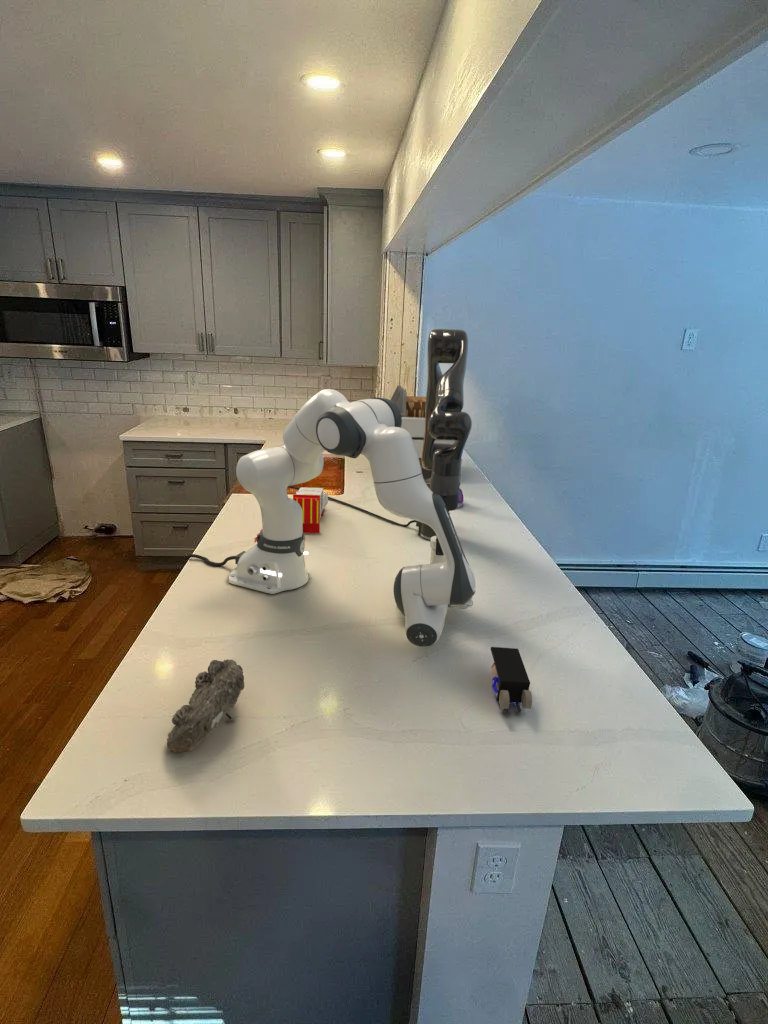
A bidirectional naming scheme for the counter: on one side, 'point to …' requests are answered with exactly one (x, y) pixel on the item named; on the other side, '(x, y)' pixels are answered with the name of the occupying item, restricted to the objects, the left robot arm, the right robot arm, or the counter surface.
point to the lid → (433, 542)
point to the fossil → (206, 705)
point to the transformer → (414, 418)
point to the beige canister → (436, 557)
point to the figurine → (460, 498)
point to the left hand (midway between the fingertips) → (437, 578)
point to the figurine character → (510, 678)
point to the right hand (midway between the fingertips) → (439, 550)
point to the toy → (311, 507)
